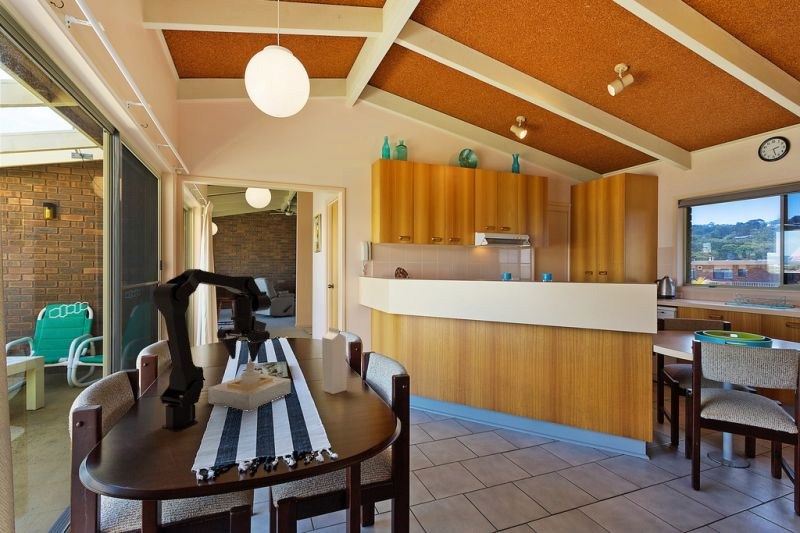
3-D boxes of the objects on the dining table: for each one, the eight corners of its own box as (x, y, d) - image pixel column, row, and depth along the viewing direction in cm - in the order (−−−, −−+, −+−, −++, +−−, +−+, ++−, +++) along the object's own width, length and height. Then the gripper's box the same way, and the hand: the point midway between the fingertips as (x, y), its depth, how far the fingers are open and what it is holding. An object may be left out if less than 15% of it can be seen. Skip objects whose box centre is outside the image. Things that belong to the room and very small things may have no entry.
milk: (332, 394, 128) (332, 330, 128) (322, 390, 132) (321, 328, 132) (346, 390, 133) (346, 328, 133) (336, 386, 137) (335, 326, 137)
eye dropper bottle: (252, 398, 122) (251, 361, 122) (239, 396, 124) (239, 360, 124) (262, 394, 126) (261, 358, 126) (249, 392, 128) (249, 357, 128)
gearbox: (249, 412, 113) (249, 392, 113) (208, 403, 121) (208, 385, 121) (300, 389, 134) (299, 373, 134) (262, 383, 142) (262, 367, 142)
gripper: (281, 312, 128) (282, 357, 128) (242, 309, 136) (242, 352, 136) (256, 315, 118) (256, 365, 118) (215, 313, 126) (215, 359, 126)
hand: (243, 360), depth 125 cm, fingers open, 9 cm apart
